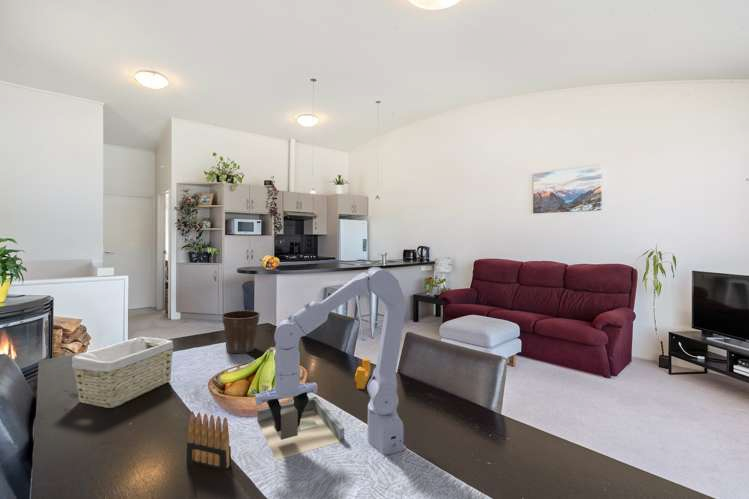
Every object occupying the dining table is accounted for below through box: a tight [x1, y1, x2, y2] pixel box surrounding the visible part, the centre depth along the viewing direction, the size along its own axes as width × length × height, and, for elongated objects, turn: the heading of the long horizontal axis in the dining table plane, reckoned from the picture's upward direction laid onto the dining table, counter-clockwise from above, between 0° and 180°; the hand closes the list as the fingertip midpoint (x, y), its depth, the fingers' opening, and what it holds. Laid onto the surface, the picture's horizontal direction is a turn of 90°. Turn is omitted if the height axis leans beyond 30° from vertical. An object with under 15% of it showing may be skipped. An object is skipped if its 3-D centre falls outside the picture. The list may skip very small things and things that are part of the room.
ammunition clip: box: [186, 410, 232, 471], centre depth 82 cm, size 11×2×12 cm, turn 73°
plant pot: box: [221, 310, 261, 354], centre depth 165 cm, size 16×16×16 cm
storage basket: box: [71, 336, 174, 409], centre depth 120 cm, size 24×16×15 cm
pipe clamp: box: [354, 358, 371, 390], centre depth 131 cm, size 12×4×6 cm, turn 171°
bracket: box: [273, 407, 298, 440], centre depth 90 cm, size 7×4×6 cm, turn 30°
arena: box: [256, 396, 345, 461], centre depth 97 cm, size 20×17×4 cm
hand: (287, 427), depth 88 cm, fingers closed on bracket, 4 cm apart
